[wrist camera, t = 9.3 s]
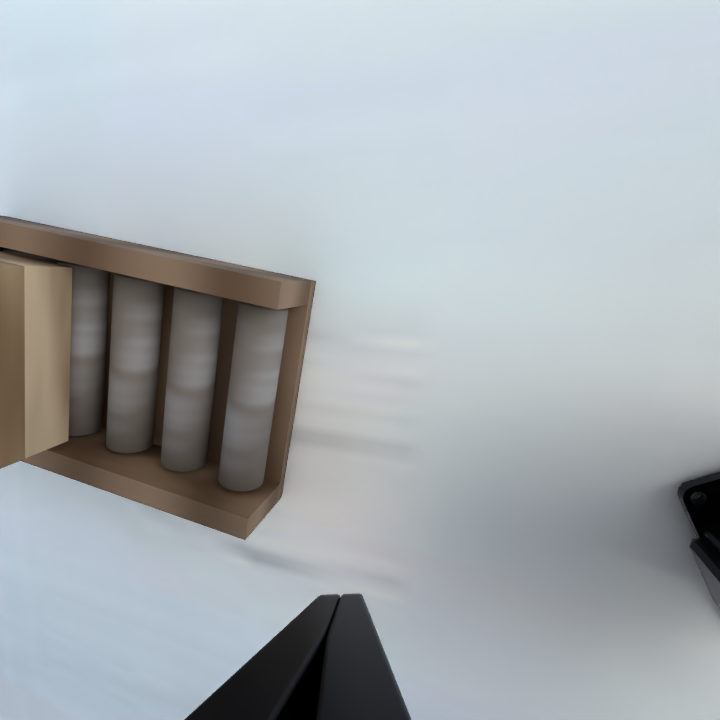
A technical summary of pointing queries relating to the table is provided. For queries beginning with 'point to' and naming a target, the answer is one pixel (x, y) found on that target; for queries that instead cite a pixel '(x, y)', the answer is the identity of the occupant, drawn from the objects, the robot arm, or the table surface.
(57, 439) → the slab
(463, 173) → the table surface
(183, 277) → the roller track
